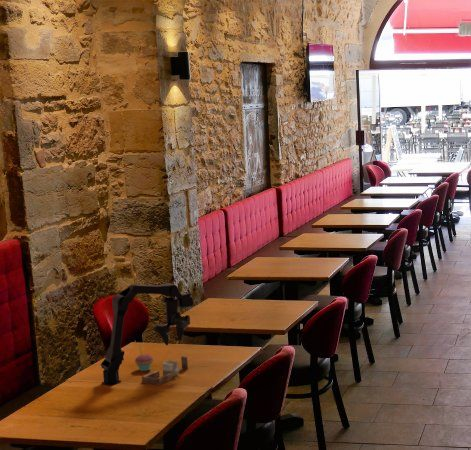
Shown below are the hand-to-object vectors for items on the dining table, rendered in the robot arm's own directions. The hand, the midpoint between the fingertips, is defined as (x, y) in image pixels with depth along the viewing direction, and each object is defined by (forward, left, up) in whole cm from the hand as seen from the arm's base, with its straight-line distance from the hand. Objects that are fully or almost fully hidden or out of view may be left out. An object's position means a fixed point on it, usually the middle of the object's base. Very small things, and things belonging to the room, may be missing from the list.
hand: (173, 342), depth 408 cm
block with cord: (-4, -5, -12) cm, 14 cm away
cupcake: (-8, +12, -13) cm, 19 cm away
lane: (-18, -5, -13) cm, 22 cm away
